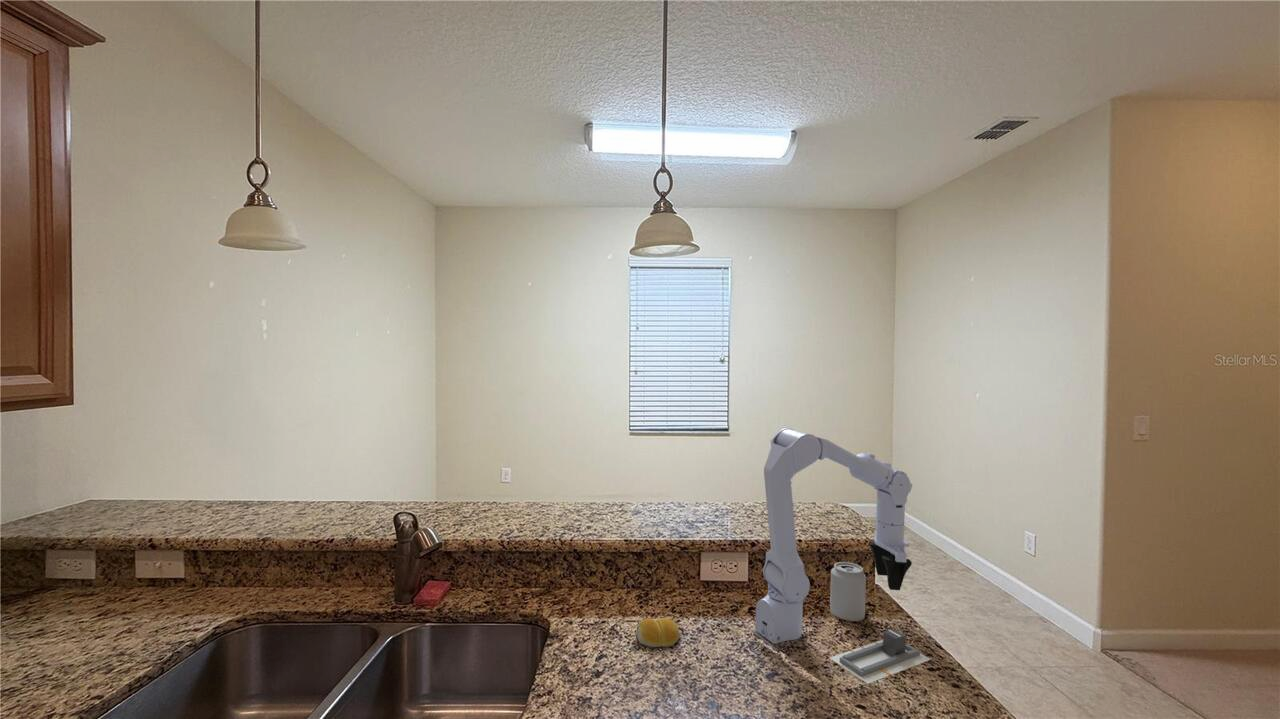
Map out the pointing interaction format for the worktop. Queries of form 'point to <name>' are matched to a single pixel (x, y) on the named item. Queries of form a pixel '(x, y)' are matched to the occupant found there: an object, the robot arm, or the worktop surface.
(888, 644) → the fader
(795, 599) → the robot arm
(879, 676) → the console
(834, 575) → the can
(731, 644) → the worktop surface
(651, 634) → the bread roll
